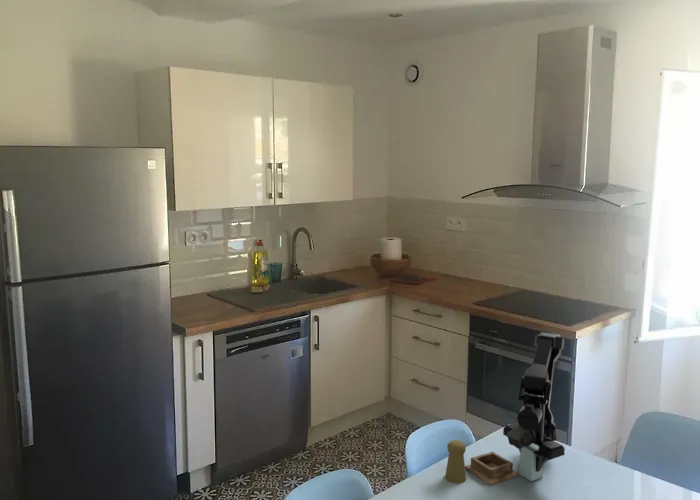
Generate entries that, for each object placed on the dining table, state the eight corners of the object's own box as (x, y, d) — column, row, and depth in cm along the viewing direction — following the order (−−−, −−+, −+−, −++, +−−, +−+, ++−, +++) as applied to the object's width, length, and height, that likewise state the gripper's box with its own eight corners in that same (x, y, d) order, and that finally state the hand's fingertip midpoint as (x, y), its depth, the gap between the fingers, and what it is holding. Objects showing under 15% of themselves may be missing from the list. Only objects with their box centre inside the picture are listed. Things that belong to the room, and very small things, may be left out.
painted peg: (530, 470, 181) (532, 441, 180) (542, 477, 177) (544, 448, 176) (519, 474, 178) (520, 445, 177) (531, 481, 175) (532, 451, 173)
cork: (465, 484, 173) (467, 447, 171) (444, 482, 174) (445, 445, 173) (466, 474, 179) (467, 438, 177) (445, 471, 180) (446, 436, 178)
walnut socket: (492, 460, 187) (492, 449, 187) (518, 475, 178) (519, 464, 177) (464, 468, 182) (465, 457, 181) (490, 485, 173) (490, 473, 172)
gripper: (490, 410, 179) (488, 460, 181) (538, 434, 163) (535, 489, 165) (518, 403, 185) (515, 452, 187) (567, 426, 169) (564, 479, 171)
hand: (531, 467), depth 177 cm, fingers closed on painted peg, 5 cm apart
